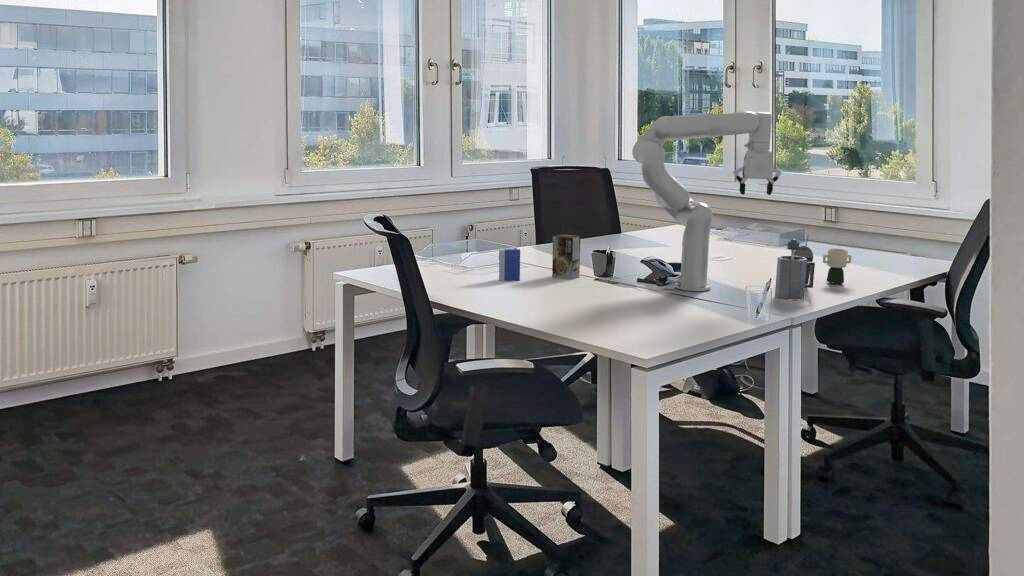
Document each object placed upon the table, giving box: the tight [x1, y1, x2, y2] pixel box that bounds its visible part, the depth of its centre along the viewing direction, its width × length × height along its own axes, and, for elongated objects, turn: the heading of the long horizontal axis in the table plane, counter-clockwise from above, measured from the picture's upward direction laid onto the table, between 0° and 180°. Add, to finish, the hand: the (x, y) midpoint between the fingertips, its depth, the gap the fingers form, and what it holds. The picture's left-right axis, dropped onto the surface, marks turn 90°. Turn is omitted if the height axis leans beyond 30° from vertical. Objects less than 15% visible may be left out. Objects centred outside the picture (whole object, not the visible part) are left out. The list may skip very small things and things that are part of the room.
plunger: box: [786, 238, 800, 260], centre depth 321 cm, size 6×6×20 cm
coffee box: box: [551, 233, 581, 280], centre depth 352 cm, size 9×6×16 cm
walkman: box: [498, 247, 521, 282], centre depth 345 cm, size 8×3×12 cm, turn 94°
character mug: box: [822, 248, 852, 285], centre depth 347 cm, size 11×7×13 cm, turn 93°
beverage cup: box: [794, 234, 814, 284], centre depth 338 cm, size 7×7×20 cm
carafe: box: [774, 255, 816, 300], centre depth 322 cm, size 13×9×14 cm
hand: (755, 194), depth 333 cm, fingers open, 9 cm apart
